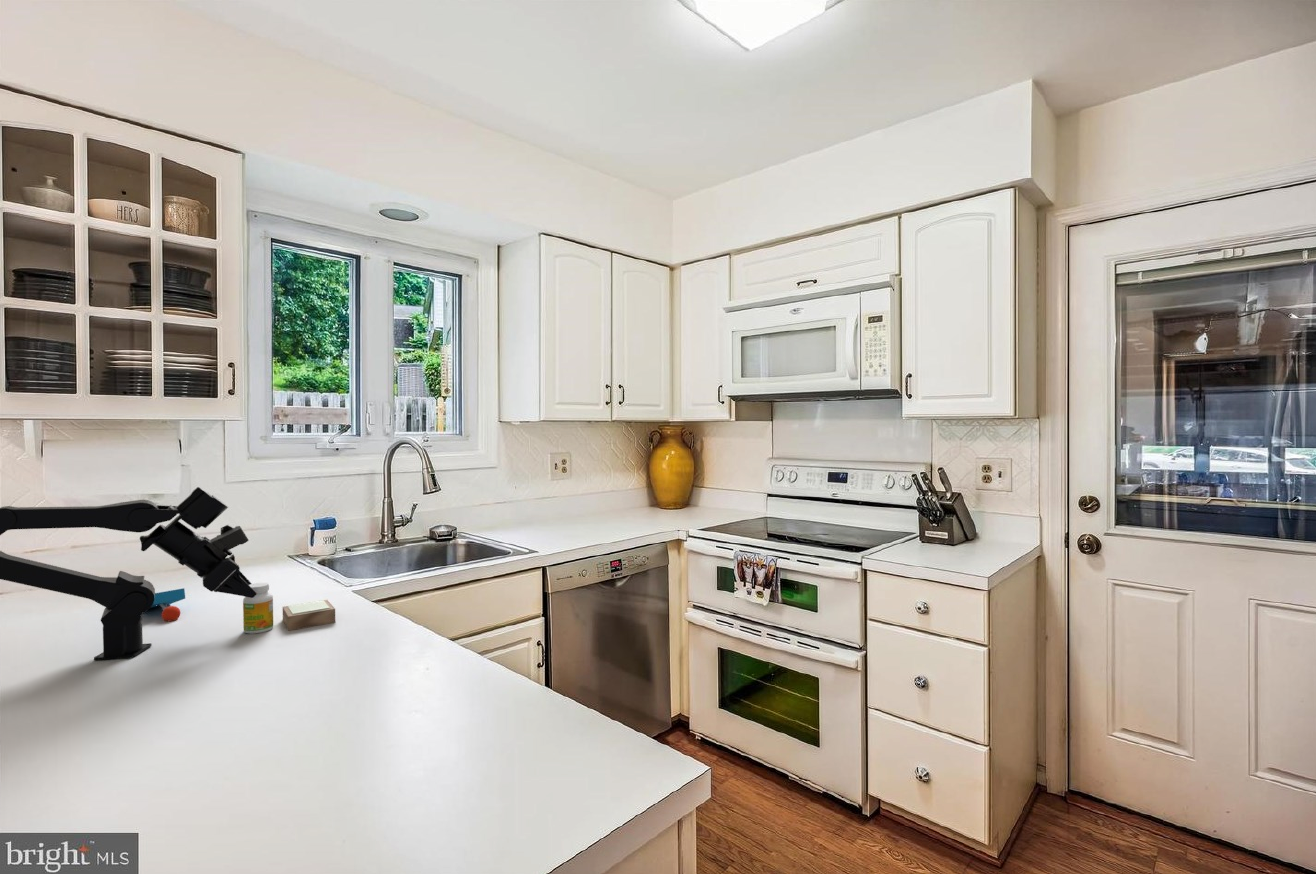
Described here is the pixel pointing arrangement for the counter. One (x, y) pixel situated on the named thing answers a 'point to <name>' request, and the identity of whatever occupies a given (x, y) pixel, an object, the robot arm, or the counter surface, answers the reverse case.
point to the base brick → (308, 614)
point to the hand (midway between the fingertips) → (252, 591)
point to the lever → (169, 598)
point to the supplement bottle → (258, 610)
